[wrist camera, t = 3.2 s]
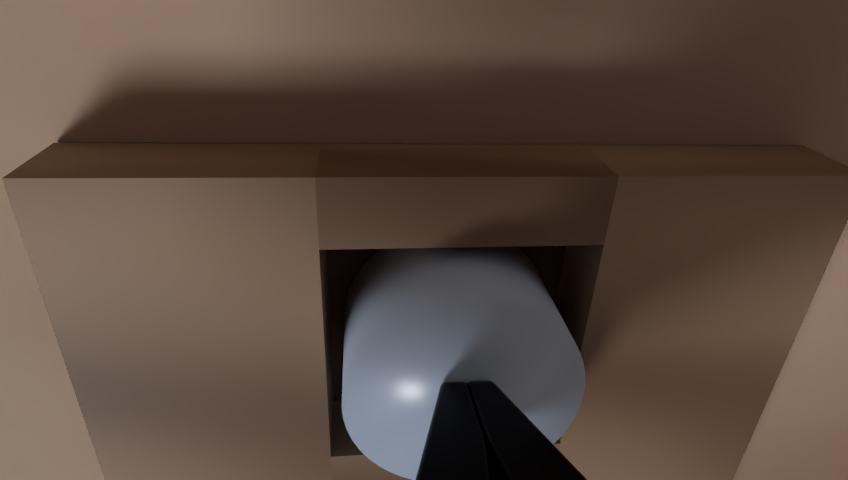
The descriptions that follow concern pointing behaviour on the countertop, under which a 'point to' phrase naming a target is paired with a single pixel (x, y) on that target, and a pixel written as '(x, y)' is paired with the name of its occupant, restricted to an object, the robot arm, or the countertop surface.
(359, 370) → the slate button
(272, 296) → the button panel
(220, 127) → the countertop surface
